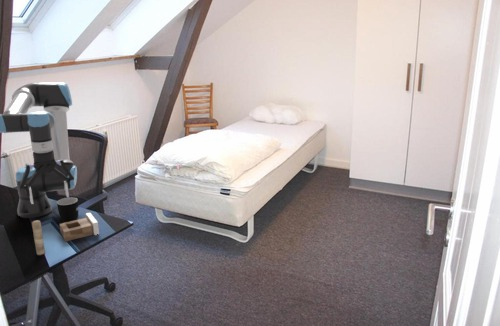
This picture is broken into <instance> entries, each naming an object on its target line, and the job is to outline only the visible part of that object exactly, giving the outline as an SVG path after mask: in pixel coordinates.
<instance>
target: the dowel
mask: <svg viewBox="0 0 500 326" xmlns="http://www.w3.org/2000/svg"><path fill="white" fill-rule="evenodd" d="M31 227H32V232H33V238H34V239H33V240H34V244H35V245H34V246H35V252H36V255H37V256H43V255H45V253H46V250H45V243H44V237H43V229H42V223H41V220H33V221H31Z"/></svg>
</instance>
